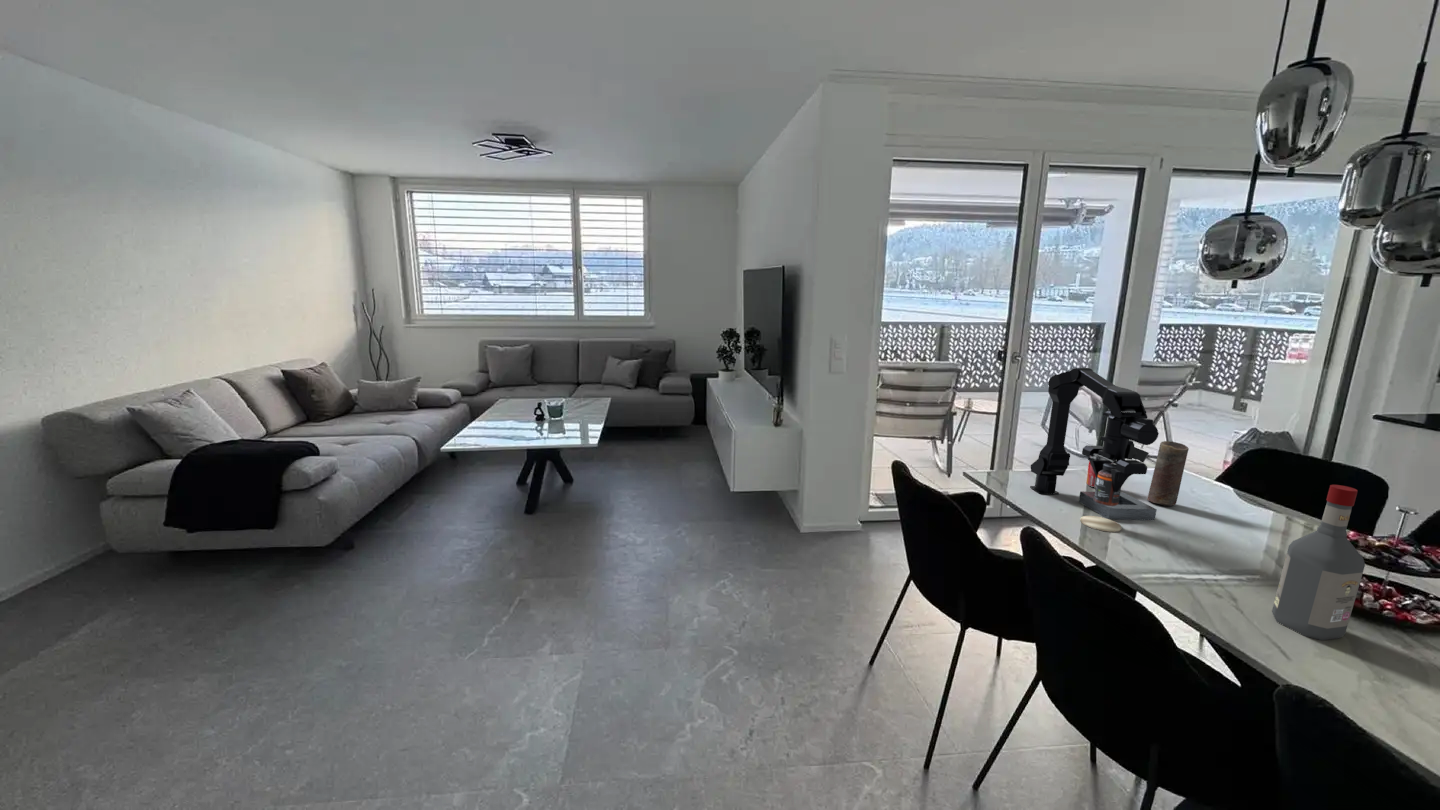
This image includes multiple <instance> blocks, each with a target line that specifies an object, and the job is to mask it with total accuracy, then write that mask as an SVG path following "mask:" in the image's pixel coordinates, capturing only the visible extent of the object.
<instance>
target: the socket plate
mask: <svg viewBox="0 0 1440 810" xmlns="http://www.w3.org/2000/svg"><path fill="white" fill-rule="evenodd" d="M1094 495H1095V491H1080V492H1079V497H1078V503H1080V504H1082V505H1083V506H1084V507H1087V508H1088V509H1090V510H1092V511H1093V512H1095V513H1097V515H1100V516H1101V517H1102V518H1106V519H1110V520H1112V521H1114V520H1117V521H1119V520H1121V521H1155V520H1156V515H1157V508H1154V507H1153V506H1151V505H1149V504H1147V503H1145V502H1144V501H1141V500H1139V499H1137V498H1135V497H1134V496H1132V495H1129V494H1128V493H1126V492H1122V491H1120V497H1119V502H1118V505H1116V506H1107V505H1102V504H1099V503H1097V502H1095V501H1094Z"/></svg>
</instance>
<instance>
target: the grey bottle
mask: <svg viewBox="0 0 1440 810" xmlns="http://www.w3.org/2000/svg"><path fill="white" fill-rule="evenodd" d="M1357 495H1358V489H1356V488H1354V487H1351V486H1347V485H1340V484H1330V485H1329V488H1328V491H1327V495H1326V499H1325V500H1326V505H1325V508H1324V511H1323V515H1322V517H1321V521H1320V524H1319V525H1318V526H1317V528H1316V530H1315V531H1313V532H1311V533H1308V534H1306V535H1303V536H1301V537H1300V538H1297V539H1295V540H1292V542H1290V543H1289V545H1288V546H1287V552H1286V555H1285V559H1284V563H1283V567H1282V570H1281V575H1280V578H1279V583H1278V586H1277V590H1276V593H1275V598H1274V602H1273V605H1272V609H1271V613H1272V615H1273V617H1274V619H1275V621H1276V623H1278V622H1279V623H1278V624H1280V623H1281V624H1280V625H1282V624H1283V625H1282V626H1284V625H1285V626H1284V627H1286V626H1287V627H1286V628H1288V627H1289V628H1288V629H1290V628H1291V629H1290V630H1292V629H1293V630H1292V631H1294V630H1295V631H1294V632H1296V631H1297V632H1296V633H1298V632H1299V633H1298V634H1300V633H1301V634H1300V635H1302V636H1303V637H1306V638H1311V639H1315V640H1319V641H1328V640H1334V639H1341V638H1342V637H1344V636H1345V635H1346V633H1347V629H1348V625H1349V621H1350V619H1351V615H1352V611H1353V608H1354V605H1355V601H1356V598H1357V594H1358V592H1359V591H1358V590H1359V587H1360V584H1361V580H1362V576H1363V573H1364V570H1365V567H1366V563H1365V560H1364V557H1363V556H1362V555H1361V554H1360V552H1359V551H1358V550H1357V549H1356V548H1355V546H1354V545H1353V544H1352V543H1351V542H1350V540H1349V539H1348V538H1347V537H1348V532H1347V528H1348V524H1349V521H1350V516H1351V513H1352V509H1353V507H1354V506H1355V502H1356V500H1357V499H1356V498H1357Z"/></svg>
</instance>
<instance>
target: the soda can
mask: <svg viewBox="0 0 1440 810" xmlns="http://www.w3.org/2000/svg"><path fill="white" fill-rule="evenodd" d="M1111 464H1115V463H1113V462H1112V463H1111ZM1087 466H1088V467H1087V473H1086V478H1085V479H1086V480H1085V481H1086V482H1085V483H1086V485H1088V486H1089V487H1090V486H1091V488H1092V487H1094V488H1093V489H1096V483H1097V479H1096V476H1095V473H1094V471H1093V468H1092V466H1091V464H1090V461H1089V460H1088V465H1087Z"/></svg>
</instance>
